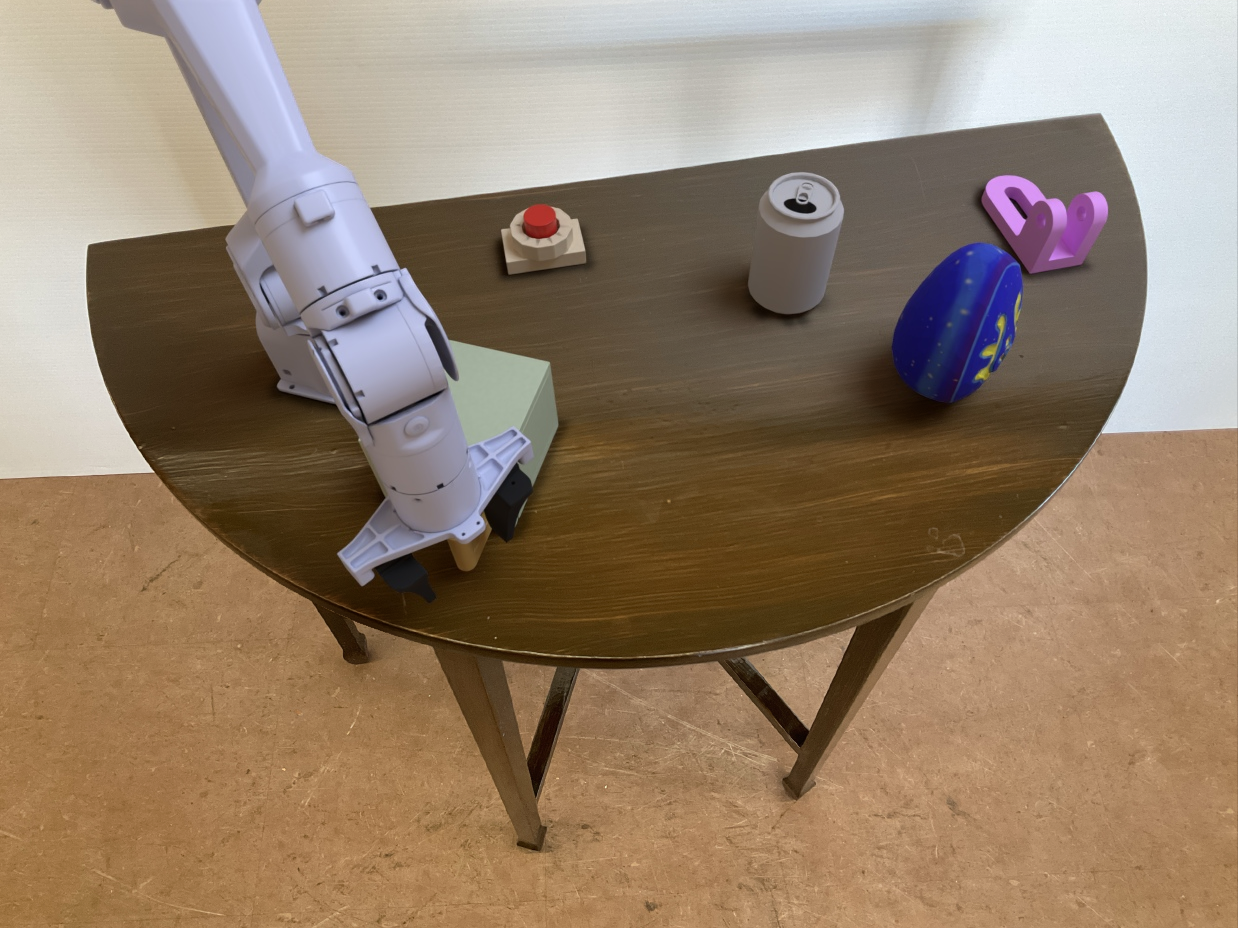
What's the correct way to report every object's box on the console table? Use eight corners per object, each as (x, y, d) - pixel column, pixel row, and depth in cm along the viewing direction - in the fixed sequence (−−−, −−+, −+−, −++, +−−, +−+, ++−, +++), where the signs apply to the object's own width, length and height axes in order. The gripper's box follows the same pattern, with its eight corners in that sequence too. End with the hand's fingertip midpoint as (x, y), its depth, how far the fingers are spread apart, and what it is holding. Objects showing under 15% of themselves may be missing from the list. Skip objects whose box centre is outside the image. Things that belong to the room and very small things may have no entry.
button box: (509, 278, 86) (504, 252, 83) (502, 238, 90) (497, 211, 87) (587, 267, 87) (585, 240, 84) (577, 227, 90) (575, 200, 87)
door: (490, 586, 67) (473, 535, 60) (356, 551, 69) (325, 497, 62) (518, 519, 70) (504, 464, 63) (390, 487, 72) (363, 430, 66)
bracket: (1081, 264, 85) (1113, 208, 80) (1029, 273, 85) (1058, 218, 79) (1020, 182, 93) (1046, 125, 87) (972, 190, 92) (994, 134, 86)
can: (737, 308, 83) (750, 209, 73) (759, 258, 87) (774, 157, 77) (812, 328, 82) (836, 230, 72) (832, 276, 85) (857, 176, 75)
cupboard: (519, 519, 71) (505, 460, 63) (391, 486, 73) (364, 426, 66) (558, 425, 76) (550, 361, 69) (438, 397, 78) (418, 332, 71)
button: (527, 241, 85) (525, 228, 83) (523, 220, 86) (521, 206, 85) (559, 237, 85) (557, 223, 83) (554, 216, 87) (553, 202, 85)
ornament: (952, 441, 74) (1015, 321, 61) (858, 390, 77) (900, 266, 65) (1007, 364, 79) (1076, 237, 66) (917, 319, 82) (966, 190, 69)
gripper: (359, 570, 48) (415, 662, 60) (553, 427, 54) (571, 535, 65) (295, 496, 52) (360, 596, 63) (484, 367, 57) (513, 481, 68)
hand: (463, 561), depth 64 cm, fingers open, 7 cm apart
